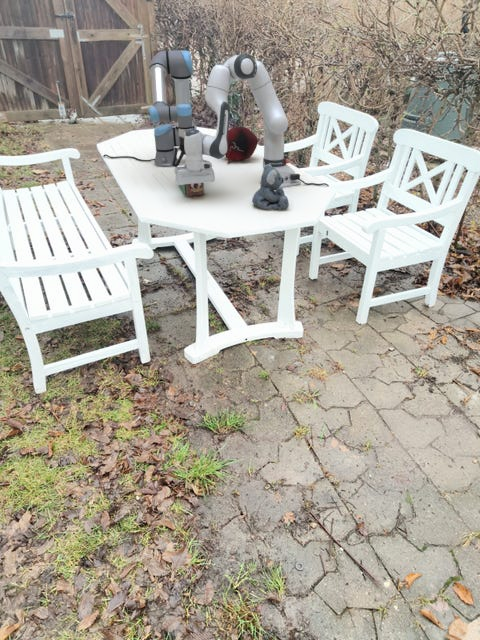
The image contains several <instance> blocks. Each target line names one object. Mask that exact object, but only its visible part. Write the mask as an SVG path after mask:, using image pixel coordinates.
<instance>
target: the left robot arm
mask: <svg viewBox="0 0 480 640" xmlns="http://www.w3.org/2000/svg"><path fill="white" fill-rule="evenodd" d="M148 66H149V67H148V73H149V76H150V78H151V93H152V94H151V95H152V106H149V118H150V121H151V122H153V123H164V122H176V123H175V126H173V125H172V124H168V123H166V124H161V125H158V126H156V127H155V128H154V129H153V133H154V134H153V136H154V142H155V143H154V145H155V155H154V158H152V159H151V158H150V159H142V158H137V157H136V156H131V155H119V156H111V155H108V154H106V153H105V154H103V156H102V157H103V158H105V157H108V158H109V159H122V158H128V159H135V160H137V161H140V162H153V161H154V165H155V166H157V167H163V168H164V167H165V168H167V167H168V168H169V167H173V168H174V169H175V168H176V167H177V166H180V164H181V162H182V159H183V157H184V156H186V153H185V149H184V137H185V133H186V132H187V131H189V130H198V129H197V126H195V123H194V122H193V110H192V106H191V92H190V91H191V89H190V80H191V78H192V75H193V74H194V73H195V72H194V66H193V60H192V55H191V52H190V51H189V50H182V49H179V50H178V49H175V50H161V51H159V52H157V53H156V54H155V55H154V56H153V57H152V59H151V61H150V63H149V65H148ZM167 75H170V76H171V79H172V80H173V82H174V93H175V94H174V95H175V105H168V100H167V86H166V77H167ZM179 151H180V154H179V156H178V152H179ZM177 156H178V157H177Z"/></svg>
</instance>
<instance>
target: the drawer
mask: <svg viewBox="0 0 480 640" xmlns="http://www.w3.org/2000/svg"><path fill="white" fill-rule="evenodd" d="M203 184H204V183H201V185H200V187H199V188H196V189H193V188H192V186H191V184H186V193H187V196H186V197H194V196H193V195H195V196H204V195H205V187H204V188H203ZM197 186H198V184H197V183H194V186H193V187H194V188H195V187H197ZM193 191H198V192H193ZM203 194H204V195H203Z"/></svg>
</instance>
